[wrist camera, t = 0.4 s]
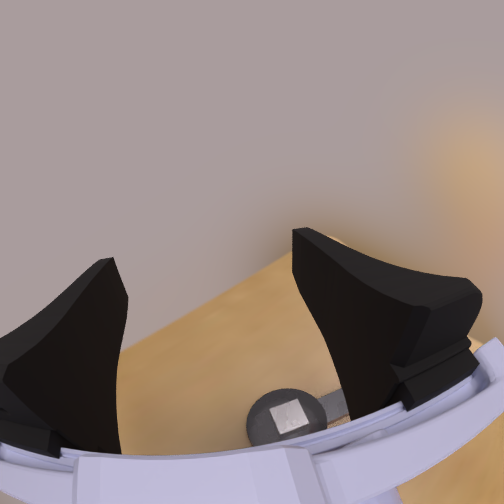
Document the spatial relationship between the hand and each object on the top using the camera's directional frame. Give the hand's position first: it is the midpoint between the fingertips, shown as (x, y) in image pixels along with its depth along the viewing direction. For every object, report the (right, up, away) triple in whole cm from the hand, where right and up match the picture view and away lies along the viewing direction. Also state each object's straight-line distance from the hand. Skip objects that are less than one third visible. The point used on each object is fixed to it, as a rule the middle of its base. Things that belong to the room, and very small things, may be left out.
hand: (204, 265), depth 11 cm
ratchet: (+11, -15, +13) cm, 22 cm away
